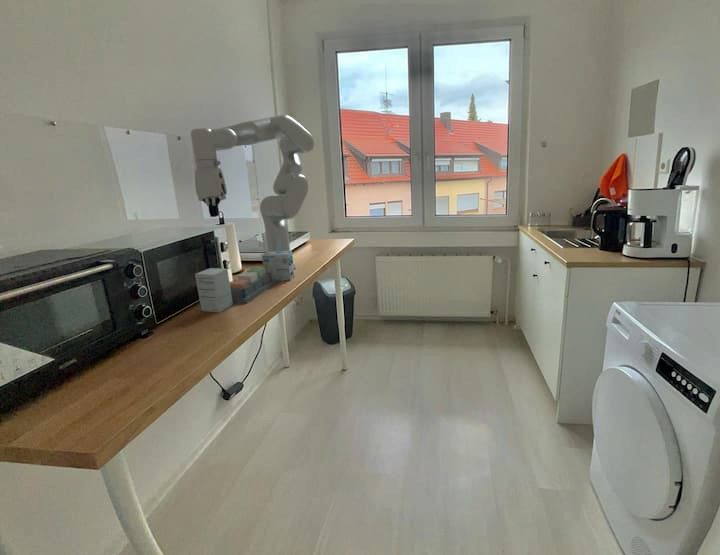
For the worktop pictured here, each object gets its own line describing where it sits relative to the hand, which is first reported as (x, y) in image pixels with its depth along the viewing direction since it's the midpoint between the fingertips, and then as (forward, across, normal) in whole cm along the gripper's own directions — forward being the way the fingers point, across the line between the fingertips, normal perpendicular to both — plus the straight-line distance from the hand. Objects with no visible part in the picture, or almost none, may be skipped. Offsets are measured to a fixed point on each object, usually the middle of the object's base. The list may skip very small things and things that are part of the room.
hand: (214, 216), depth 157 cm
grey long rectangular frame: (+27, -14, +7) cm, 31 cm away
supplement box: (+27, -11, +24) cm, 38 cm away
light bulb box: (+27, -18, -11) cm, 35 cm away
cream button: (+24, -14, +7) cm, 29 cm away
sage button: (+24, -14, 0) cm, 28 cm away
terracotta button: (+25, -14, +14) cm, 32 cm away
